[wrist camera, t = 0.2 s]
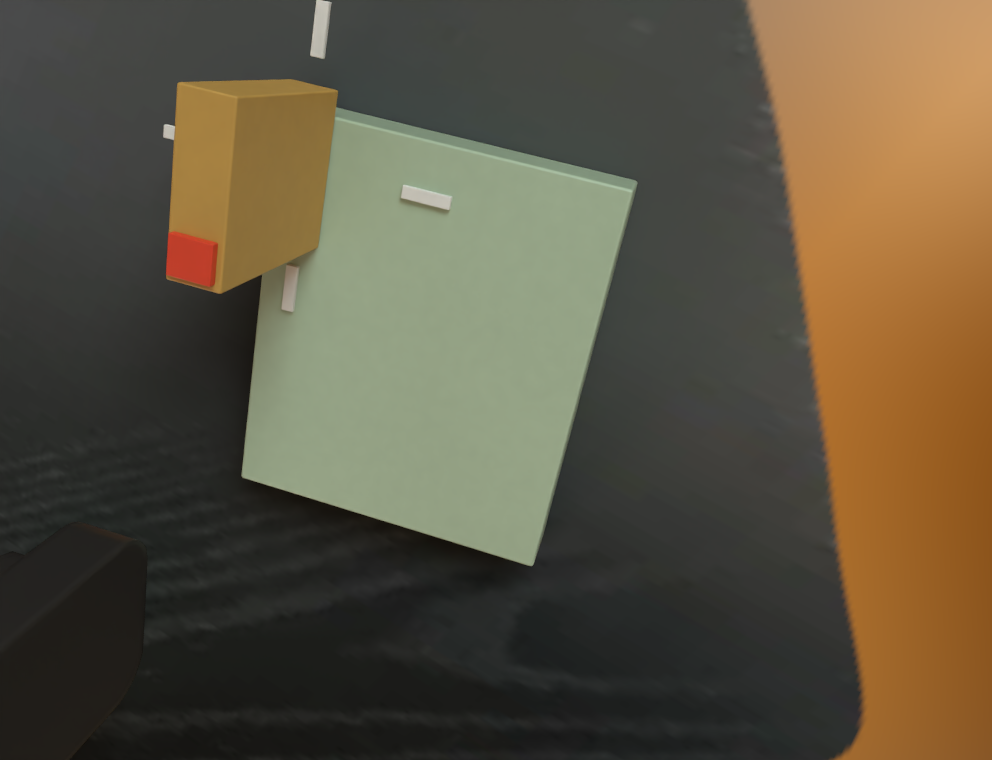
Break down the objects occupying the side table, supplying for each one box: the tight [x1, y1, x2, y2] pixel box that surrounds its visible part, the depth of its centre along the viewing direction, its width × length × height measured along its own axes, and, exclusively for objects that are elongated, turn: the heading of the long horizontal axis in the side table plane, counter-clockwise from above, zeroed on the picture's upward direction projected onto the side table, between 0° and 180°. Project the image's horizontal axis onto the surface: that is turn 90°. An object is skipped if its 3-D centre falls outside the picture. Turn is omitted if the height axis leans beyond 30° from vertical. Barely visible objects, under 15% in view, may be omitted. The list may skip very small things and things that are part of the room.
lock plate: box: [163, 0, 637, 566], centre depth 25 cm, size 15×13×2 cm
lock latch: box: [166, 79, 338, 294], centre depth 21 cm, size 4×1×6 cm, turn 168°
